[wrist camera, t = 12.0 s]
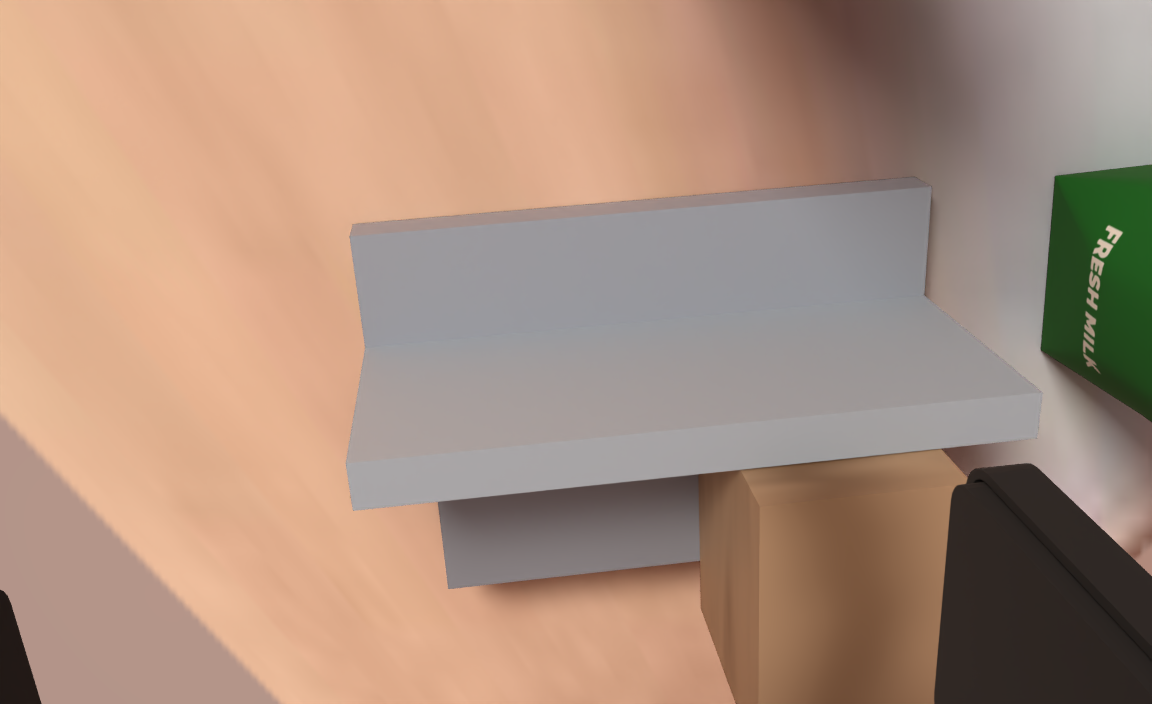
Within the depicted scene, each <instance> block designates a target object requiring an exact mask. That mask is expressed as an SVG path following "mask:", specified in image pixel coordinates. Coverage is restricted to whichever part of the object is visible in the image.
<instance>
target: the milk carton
mask: <svg viewBox="0 0 1152 704" xmlns="http://www.w3.org/2000/svg"><path fill="white" fill-rule="evenodd" d="M1041 350H1042V351H1043V352H1045V353H1046V354H1048V355H1049V356H1051V357H1053V358H1054V359H1056V360H1057V361H1059V362H1060V363H1062V364H1064V365H1065V366H1067V367H1068V368H1070V369H1071V370H1073V371H1074V372H1076V373H1078V374H1079V375H1081V376H1082V377H1084V378H1085V379H1087V380H1088V381H1090V382H1092V383H1093V384H1095V385H1096V386H1098V387H1099V388H1101V389H1102V390H1104V391H1105V392H1107V393H1109V394H1110V395H1112V396H1113V397H1115V398H1116V399H1118V400H1119V401H1121V402H1123V403H1124V404H1126V405H1127V406H1129V407H1131V408H1132V409H1134V410H1135V411H1137V412H1138V413H1140V414H1141V415H1143V416H1144V417H1145V418H1147V419H1148V420H1150V421H1151V422H1152V165H1144V166H1135V167H1127V168H1118V169H1110V170H1101V171H1093V172H1084V173H1076V174H1067V175H1059V176H1055V185H1054V197H1053V209H1052V221H1051V234H1050V246H1049V258H1048V270H1047V282H1046V294H1045V307H1044V319H1043V331H1042V343H1041Z"/></svg>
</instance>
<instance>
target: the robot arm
mask: <svg viewBox="0 0 1152 704" xmlns="http://www.w3.org/2000/svg"><path fill="white" fill-rule="evenodd" d="M0 704H41V701H40V698H39V695H38V691H37V688H36V685H35V681H34V678H33V674H32V671H31V668H30V665H29V661H28V658H27V655H26V652H25V648H24V645H23V642H22V639H21V635H20V632H19V628H18V625H17V622H16V619H15V615H14V612H13V609H12V605H11V603H10V600H9V598H8V596H7V595H6V594H5V592H4V591H2V590H0ZM934 704H1152V576H1151V575H1150V574H1149V573H1147V571H1145V569H1143V568H1142V567H1141V566H1140V565H1139V564H1138V563H1137V562H1136V561H1135V560H1134V559H1133V558H1132V557H1131V556H1130V555H1129V554H1128V553H1127V552H1126V551H1125V550H1124V549H1122V548H1121V547H1120V546H1119V545H1118V544H1117V543H1116V542H1115V541H1114V540H1113V539H1112V538H1111V537H1110V536H1109V535H1108V534H1107V533H1106V532H1105V531H1104V530H1102V529H1101V528H1100V527H1099V526H1098V525H1097V524H1096V523H1095V522H1094V521H1093V520H1092V519H1091V518H1090V517H1089V516H1088V515H1087V514H1086V513H1085V512H1084V511H1083V510H1081V509H1080V508H1079V507H1078V506H1077V505H1076V504H1075V503H1074V502H1073V501H1072V500H1071V499H1070V498H1069V497H1068V496H1067V495H1066V494H1065V493H1064V492H1063V491H1061V490H1060V489H1059V488H1058V487H1057V486H1056V485H1055V484H1054V483H1053V482H1052V481H1051V480H1050V479H1049V478H1048V477H1047V476H1046V475H1045V474H1044V473H1043V472H1042V471H1040V470H1039V469H1038V468H1037V467H1036V466H1034V465H1032V464H1027V463H1024V464H1015V465H1006V466H996V467H987V468H978V469H974V470H973V471H972V472H970V474H969V476H968V479H967V482H966V484H961V485H957V486H956V487H955V488H954V490H953V492H952V496H951V504H950V515H949V527H948V539H947V550H946V562H945V573H944V585H943V597H942V608H941V620H940V631H939V643H938V655H937V666H936V678H935V689H934Z"/></svg>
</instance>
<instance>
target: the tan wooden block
mask: <svg viewBox="0 0 1152 704" xmlns="http://www.w3.org/2000/svg"><path fill="white" fill-rule="evenodd" d="M967 479H968V478H967V477H966V476H965V474H964V473H963V472H962V471H961V470H960V469H959V468H958V467H957V466H956V465H955V464H954V462H953V461H952V460H951V459H950V458H949V457H948V456H947V455H946V454H945V453H944V451H943V450H942V449H932V450H923V451H913V452H904V453H894V454H885V455H875V456H866V457H856V458H847V459H837V460H828V461H819V462H809V463H800V464H790V465H781V466H771V467H762V468H752V469H743V470H733V471H724V472H715V473H705V474H698V481H699V536H700V592H701V610H702V613H703V615H704V618H705V621H706V624H707V626H708V629H709V632H710V634H711V637H712V640H713V643H714V645H715V648H716V651H717V654H718V656H719V659H720V662H721V664H722V667H723V670H724V673H725V675H726V678H727V681H728V684H729V686H730V689H731V692H732V694H733V697H734V700H735V703H736V704H934V689H935V678H936V666H937V655H938V643H939V631H940V620H941V608H942V597H943V585H944V573H945V562H946V550H947V539H948V527H949V515H950V504H951V496H952V492H953V490H954V488H955V487H956V486H957V485H961V484H966V482H967Z"/></svg>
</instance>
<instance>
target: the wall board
mask: <svg viewBox="0 0 1152 704" xmlns="http://www.w3.org/2000/svg"><path fill="white" fill-rule="evenodd" d="M931 192H932V187H931V186H930V185H928V184H926V183H925V182H923V181H921V180H919V179H918V178H916V177H906V178H894V179H882V180H870V181H859V182H847V183H835V184H823V185H811V186H799V187H787V188H776V189H764V190H752V191H740V192H728V193H716V194H705V195H693V196H681V197H669V198H657V199H645V200H633V201H622V202H610V203H598V204H586V205H574V206H562V207H550V208H539V209H527V210H515V211H503V212H491V213H479V214H468V215H456V216H444V217H432V218H420V219H408V220H396V221H385V222H373V223H361V224H353V226H352V229H351V233H350V243H351V250H352V257H353V264H354V271H355V279H356V286H357V293H358V300H359V307H360V314H361V321H362V328H363V336H364V343H365V352H364V358H363V364H362V370H361V376H360V382H359V388H358V394H357V399H356V405H355V411H354V417H353V423H352V429H351V435H350V441H349V447H348V453H347V459H346V469H347V475H348V481H349V488H350V494H351V501H352V507H353V511H355V510H365V509H374V508H384V507H393V506H403V505H412V504H422V503H431V502H438V507H439V515H440V523H441V532H442V540H443V549H444V557H445V565H446V574H447V582H448V589H454V588H462V587H471V586H480V585H489V584H498V583H507V582H516V581H525V580H534V579H542V578H551V577H560V576H569V575H578V574H587V573H596V572H605V571H614V570H623V569H631V568H640V567H649V566H658V565H667V564H676V563H685V562H694V561H700V536H699V481H698V474H705V473H715V472H724V471H733V470H743V469H752V468H762V467H771V466H781V465H790V464H800V463H809V462H819V461H828V460H837V459H847V458H856V457H866V456H875V455H885V454H894V453H904V452H913V451H923V450H932V449H941V448H951V447H960V446H970V445H979V444H989V443H998V442H1008V441H1017V440H1027V439H1036V438H1037V436H1038V428H1039V419H1040V411H1041V402H1042V394H1043V392H1042V391H1041V390H1039V389H1038V388H1037V387H1036V386H1034V385H1033V384H1032V383H1031V382H1030V381H1028V380H1027V379H1026V378H1025V377H1023V376H1022V375H1021V374H1020V373H1019V372H1017V371H1016V370H1015V369H1014V368H1012V367H1011V366H1010V365H1009V364H1008V363H1006V362H1005V361H1004V360H1003V359H1001V358H1000V357H999V356H998V355H997V354H995V353H994V352H993V351H992V350H990V349H989V348H988V347H987V346H986V345H984V344H983V343H982V342H981V341H979V340H978V339H977V338H976V337H975V336H973V335H972V334H971V333H970V332H968V331H967V330H966V329H965V328H964V327H962V326H961V325H960V324H959V323H957V322H956V321H955V320H954V319H953V318H951V317H950V316H949V315H948V314H946V313H945V312H944V311H943V310H942V309H940V308H939V307H938V306H937V305H935V304H934V303H933V302H932V301H931V300H929V299H928V298H927V297H926V296H924V292H925V278H926V263H927V249H928V235H929V221H930V206H931Z"/></svg>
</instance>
